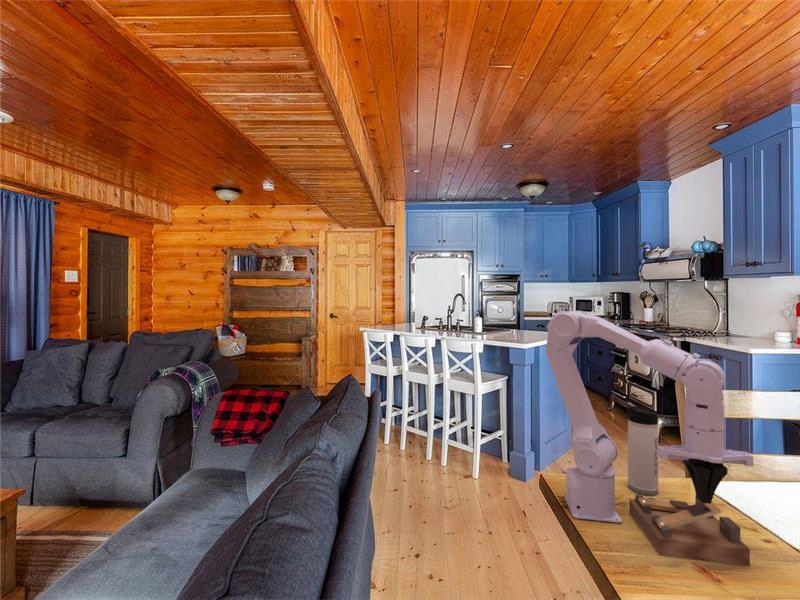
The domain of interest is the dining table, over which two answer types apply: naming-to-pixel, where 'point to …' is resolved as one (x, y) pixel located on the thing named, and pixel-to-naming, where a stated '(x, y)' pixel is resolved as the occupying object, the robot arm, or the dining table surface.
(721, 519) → the brown strap fixture board
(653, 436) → the travel mug
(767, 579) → the dining table surface
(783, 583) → the dining table surface
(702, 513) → the near strap
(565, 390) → the robot arm
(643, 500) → the far strap
